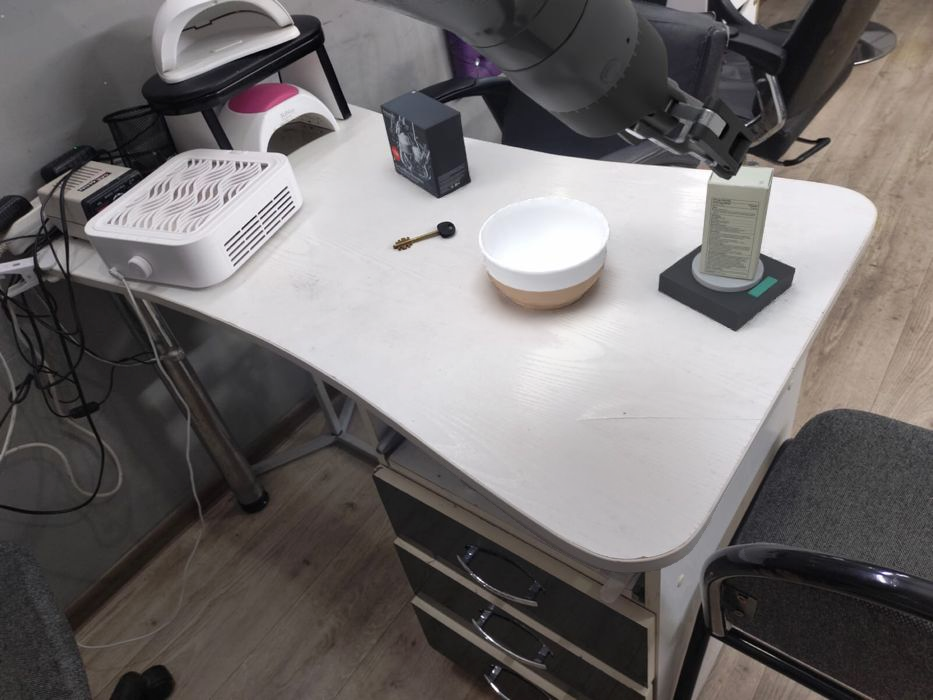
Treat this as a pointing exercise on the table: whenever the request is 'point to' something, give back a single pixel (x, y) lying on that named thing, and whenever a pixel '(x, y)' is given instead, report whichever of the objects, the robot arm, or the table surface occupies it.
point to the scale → (725, 288)
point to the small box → (426, 142)
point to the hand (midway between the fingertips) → (684, 149)
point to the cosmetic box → (735, 222)
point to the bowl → (545, 250)
